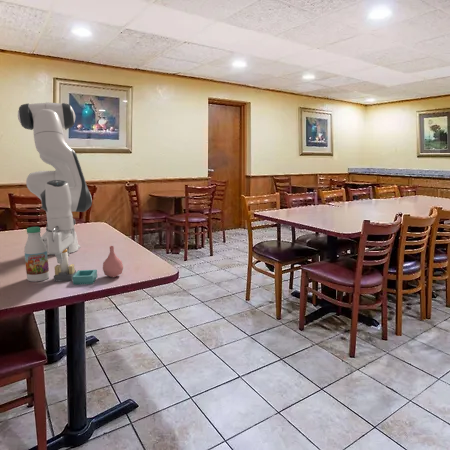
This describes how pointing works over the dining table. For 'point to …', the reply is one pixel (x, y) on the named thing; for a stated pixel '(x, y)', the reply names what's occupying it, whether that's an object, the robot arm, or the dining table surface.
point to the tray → (84, 277)
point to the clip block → (64, 273)
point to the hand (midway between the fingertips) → (63, 259)
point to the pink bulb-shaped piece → (112, 264)
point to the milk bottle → (36, 256)
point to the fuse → (64, 262)
